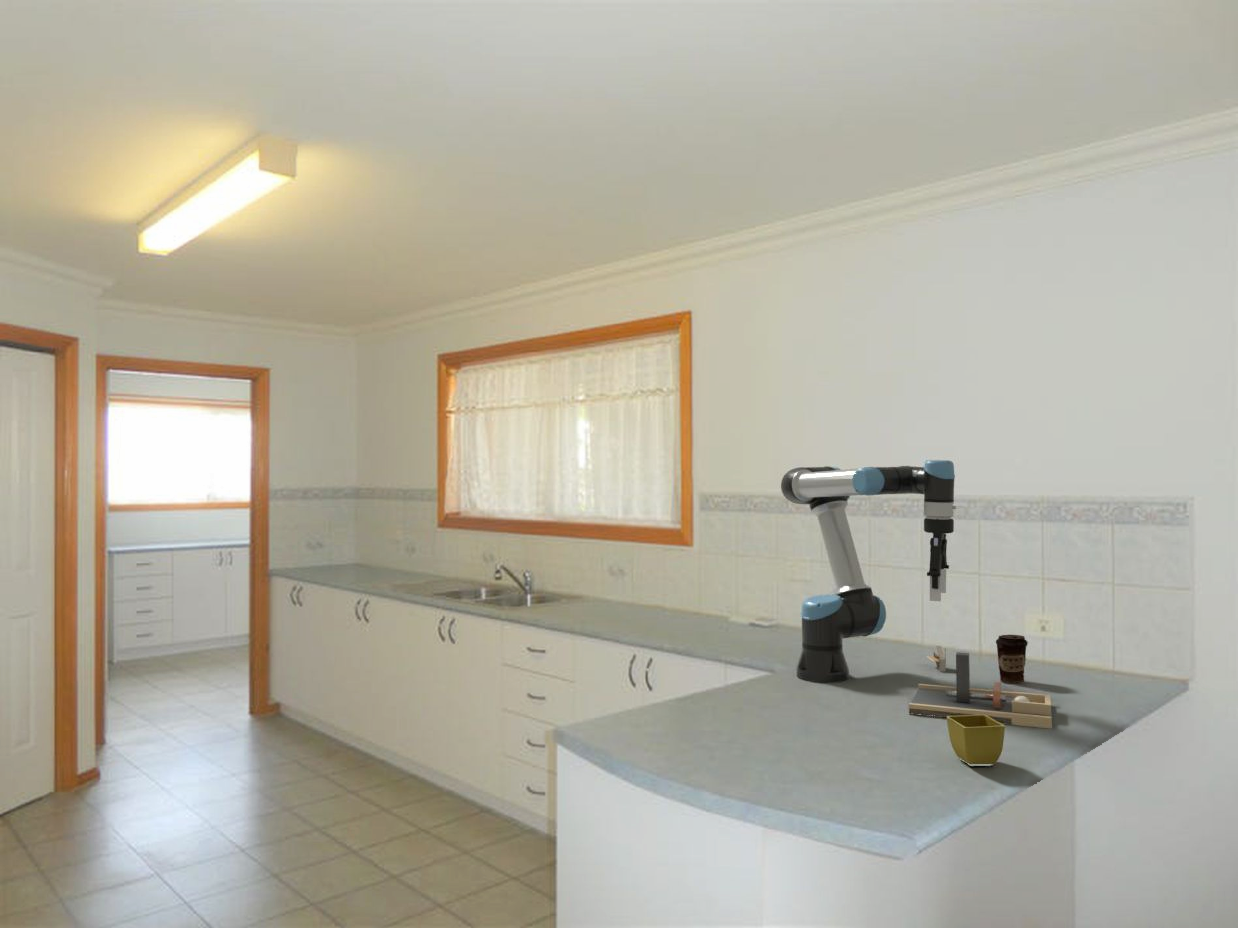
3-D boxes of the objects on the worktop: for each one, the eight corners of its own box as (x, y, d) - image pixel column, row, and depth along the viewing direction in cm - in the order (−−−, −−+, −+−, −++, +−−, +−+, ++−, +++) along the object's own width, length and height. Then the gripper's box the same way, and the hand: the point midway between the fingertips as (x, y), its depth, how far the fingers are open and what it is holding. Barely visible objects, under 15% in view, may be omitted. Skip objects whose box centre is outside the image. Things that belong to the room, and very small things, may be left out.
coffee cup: (1032, 686, 244) (1031, 639, 244) (1000, 685, 246) (999, 638, 246) (1024, 678, 253) (1023, 633, 253) (993, 677, 255) (992, 632, 255)
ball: (1031, 700, 216) (1029, 716, 216) (1031, 696, 219) (1029, 711, 220) (1014, 696, 217) (1011, 711, 218) (1014, 692, 221) (1012, 707, 221)
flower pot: (946, 757, 187) (945, 715, 187) (985, 755, 188) (984, 713, 188) (965, 771, 178) (965, 727, 178) (1006, 769, 179) (1006, 725, 179)
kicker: (945, 703, 222) (944, 656, 222) (948, 694, 230) (947, 649, 230) (1005, 709, 216) (1004, 660, 216) (1006, 700, 224) (1005, 653, 224)
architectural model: (934, 672, 263) (934, 648, 263) (927, 667, 270) (926, 643, 270) (946, 672, 263) (945, 648, 263) (938, 667, 270) (938, 643, 270)
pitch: (909, 714, 219) (908, 698, 219) (918, 692, 239) (918, 678, 239) (1051, 728, 206) (1051, 711, 206) (1049, 704, 226) (1049, 689, 226)
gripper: (949, 522, 222) (948, 605, 223) (957, 514, 245) (956, 590, 245) (918, 521, 225) (917, 603, 226) (929, 513, 248) (928, 588, 248)
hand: (937, 596), depth 236 cm, fingers open, 13 cm apart
